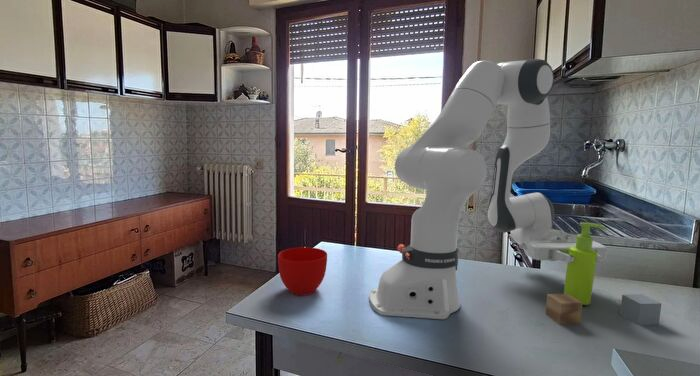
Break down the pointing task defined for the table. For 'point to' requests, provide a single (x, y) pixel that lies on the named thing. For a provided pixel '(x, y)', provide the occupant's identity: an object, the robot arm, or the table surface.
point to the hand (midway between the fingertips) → (585, 259)
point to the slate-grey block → (640, 309)
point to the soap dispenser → (582, 266)
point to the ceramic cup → (302, 269)
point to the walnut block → (563, 309)
